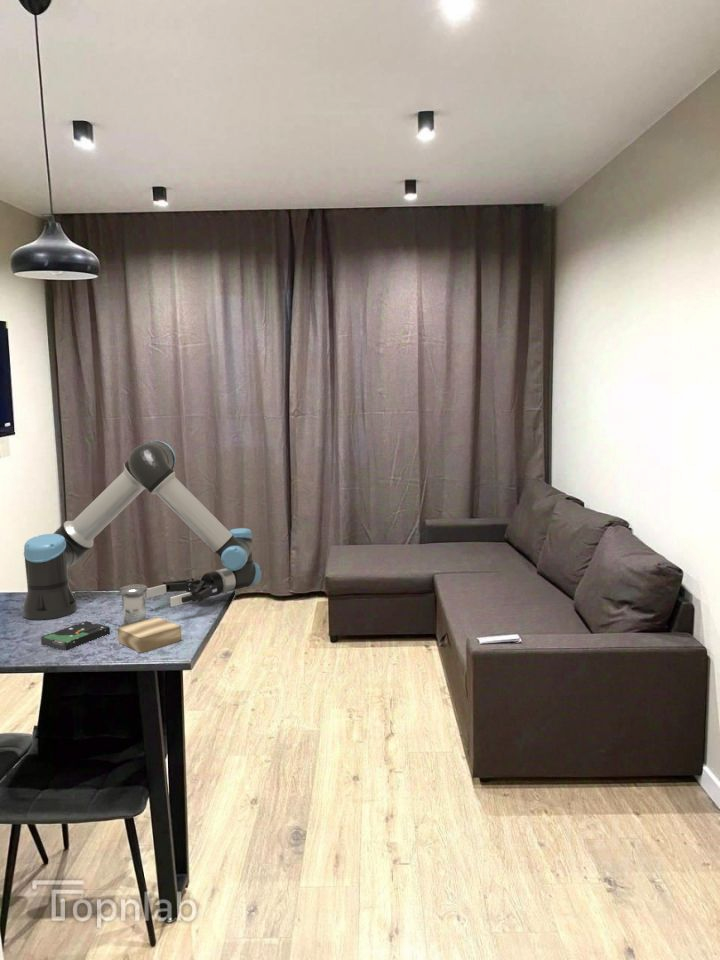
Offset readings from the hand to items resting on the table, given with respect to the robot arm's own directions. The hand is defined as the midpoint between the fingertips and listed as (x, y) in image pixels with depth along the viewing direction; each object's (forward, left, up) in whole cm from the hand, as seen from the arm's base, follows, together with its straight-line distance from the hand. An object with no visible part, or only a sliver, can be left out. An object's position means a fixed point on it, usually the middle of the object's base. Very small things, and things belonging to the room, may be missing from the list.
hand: (158, 597), depth 214 cm
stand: (+17, -13, -6) cm, 22 cm away
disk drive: (-1, -25, -7) cm, 26 cm away
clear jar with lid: (0, -8, -6) cm, 10 cm away
